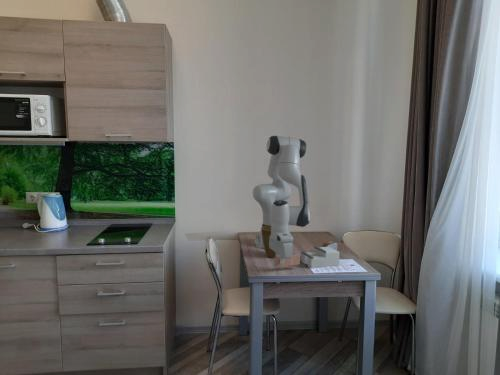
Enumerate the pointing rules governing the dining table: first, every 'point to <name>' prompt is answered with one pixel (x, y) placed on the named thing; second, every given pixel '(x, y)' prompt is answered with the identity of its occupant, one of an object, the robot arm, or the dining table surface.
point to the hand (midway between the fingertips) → (279, 262)
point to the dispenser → (321, 257)
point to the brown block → (287, 261)
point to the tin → (331, 244)
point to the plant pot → (267, 240)
